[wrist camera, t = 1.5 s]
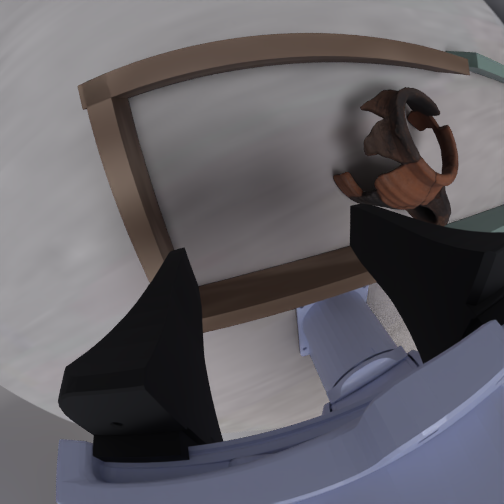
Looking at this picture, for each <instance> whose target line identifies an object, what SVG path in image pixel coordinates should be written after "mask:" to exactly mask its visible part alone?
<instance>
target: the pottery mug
mask: <svg viewBox="0 0 504 504" xmlns="http://www.w3.org/2000/svg"><path fill="white" fill-rule="evenodd" d="M406 103H407V104H408V106H409V107H410V108H411V109H412V111H411V112H410V114H409V116H408V118H407V119H408V121H409V122H410V123H411V124H412V125H413V126H414V127H415V128H416V129H417V130H419V131H423V130H425V129H426V128H432V129H433V131H434V133H435V135H436V138H437V140H438V143H439V145H440V149H441V156H442V174H439V173H437V172H435V171H434V170H433V169H432V168H431V167H430V166H429V165H428V164H427V163H426V162H425V161H424V159H423V158H422V157H421V156H420V154H419V152H418V150H417V148H416V146H415V144H414V142H413V140H412V138H411V135H410V132H409V129H408V126H407V123H406V119H405V112H404V111H405V104H406ZM360 109H361V110H363V111H369V112H372V113H374V114H376V115H378V116H380V117H382V118H384V119H383V120H381V121H378V122H377V123H376V124H375V125H374V126H373V128H372V130H371V132H370V134H369V135H368V136H367V137H366V138H365V140H364V152H365V154H366V155H367V156H372V155H377V154H379V155H381V156H383V157H386V158H390V159H393V160H395V161H397V162H399V163H401V165H400V166H399V167H398V168H396V169H395V170H393V171H390V172H388V173H384V174H381V175H380V176H378V178H377V179H376V180H375V183H374V185H375V188H376V190H373V191H370V192H364V191H363V190H362V189H361V188H360V187H359V186H358V184H357V183H356V182H355V180H354V179H353V177H352V176H351V174H350V173H349V172H345V173H342V174H341V175H334V181H335V182H336V184H337V186H338V187H339V188H340V189H341V191H342V192H343V193H344V194H345V195H346V196H348V197H349V198H350V199H351V200H353V201H355V202H357V203H360V204H361V203H363V204H369V205H374V206H380V207H386V208H391V209H401V210H406V211H407V212H408V213H409V214H410V215H411V216H412V217H413V218H414V219H417V220H421V221H424V222H428V223H432V224H436V225H440V226H445V225H446V224H447V223H448V221H449V217H450V214H451V207H450V203H449V200H448V197H447V194H446V191H445V186H448V185H450V184H451V183H452V182H453V181H454V179H455V178H456V175H457V171H458V153H457V148H456V143H455V140H454V137H453V134H452V131H451V129H450V127H449V125H445V126H442V127H439V125H438V124H437V122H436V120H435V119H434V118H433V116H437V115H440V111H439V109H438V107H437V105H436V104H435V103H434V102H433V101H432V100H431V99H430V98H429V97H428V96H427V95H426V94H424V93H423V92H421V91H419V90H417V89H414V88H409V87H408V88H406V87H405V88H403V89H401V90H399V91H395V90H383V91H381V92H380V93H379V94H378V95H377V96H376V97H374V98H373V99H371V100H370V101H367V102H366V103H365V104H363V105H362V106H361V107H360Z"/></svg>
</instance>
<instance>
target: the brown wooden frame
mask: <svg viewBox="0 0 504 504" xmlns="http://www.w3.org/2000/svg"><path fill="white" fill-rule="evenodd" d="M312 62H355V63H374V64H386V65H395V66H404V67H411V68H418V69H424V70H430V71H435V72H443V73H454V74H463V75H470V73H469V64H468V59H466V58H463V57H460V56H457V55H453V54H450V53H447V52H443V51H440V50H436V49H432V48H428V47H424V46H420V45H416V44H411V43H406V42H401V41H395V40H389V39H383V38H376V37H368V36H358V35H346V34H328V33H290V34H271V35H259V36H250V37H241V38H234V39H227V40H221V41H215V42H210V43H205V44H200V45H195V46H190V47H186V48H182V49H178V50H174V51H170V52H167V53H163V54H160V55H156V56H153V57H150V58H146V59H143V60H140V61H137V62H134V63H132V64H129V65H126V66H123V67H121V68H118V69H115V70H113V71H110V72H108V73H105V74H103V75H101V76H98V77H96V78H94V79H91V80H89V81H87V82H85V83H83V84H81V85H79V86H78V90H79V95H80V99H81V104H82V108H83V110H84V109H87V111H88V115H89V119H90V123H91V126H92V130H93V134H94V137H95V141H96V144H97V147H98V151H99V154H100V157H101V160H102V164H103V167H104V170H105V173H106V176H107V179H108V182H109V185H110V187H111V190H112V193H113V196H114V199H115V201H116V204H117V207H118V209H119V212H120V215H121V217H122V220H123V222H124V225H125V227H126V230H127V232H128V235H129V237H130V239H131V242H132V244H133V246H134V249H135V251H136V253H137V256H138V258H139V260H140V262H141V265H142V267H143V269H144V271H145V273H146V276H147V278H148V280H149V282H150V283H151V281H152V280H153V278H154V277H155V275H156V273H157V272H158V270H159V269H160V267H161V265H162V264H163V262H164V260H165V259H166V257H167V255H168V254H169V252H170V251H173V250H174V248H173V246H172V243H171V240H170V237H169V235H168V232H167V229H166V226H165V223H164V220H163V217H162V214H161V211H160V208H159V206H158V202H157V199H156V196H155V193H154V190H153V187H152V184H151V181H150V177H149V174H148V171H147V168H146V164H145V161H144V157H143V154H142V150H141V147H140V143H139V140H138V136H137V132H136V129H135V125H134V121H133V117H132V113H131V109H130V105H129V101H128V98H130V97H133V96H136V95H139V94H142V93H145V92H148V91H151V90H154V89H157V88H161V87H164V86H168V85H171V84H175V83H178V82H182V81H186V80H190V79H194V78H199V77H203V76H208V75H213V74H218V73H223V72H228V71H234V70H240V69H247V68H254V67H262V66H270V65H281V64H293V63H312ZM375 282H376V280H375V279H374V278H373V277H372V276H371V274H370V273H369V272H368V271H367V270H366V268H365V267H364V266H363V265H362V264H361V262H360V261H359V259H358V258H357V256H356V255H355V253H354V251H353V250H352V248H351V246H348V247H345V248H341V249H338V250H334V251H331V252H327V253H323V254H320V255H316V256H313V257H309V258H305V259H302V260H298V261H294V262H291V263H287V264H283V265H280V266H276V267H272V268H268V269H265V270H261V271H257V272H253V273H249V274H246V275H242V276H238V277H234V278H230V279H226V280H222V281H218V282H215V283H211V284H207V285H203V286H199V292H200V298H201V305H202V323H203V333H205V332H209V331H213V330H217V329H221V328H226V327H230V326H234V325H238V324H241V323H245V322H249V321H253V320H257V319H260V318H264V317H268V316H271V315H275V314H278V313H282V312H285V311H289V310H292V309H296V308H299V307H302V306H306V305H309V304H312V303H315V302H319V301H322V300H325V299H328V298H331V297H334V296H337V295H340V294H344V293H347V292H350V291H352V290H355V289H358V288H361V287H364V286H367V285H370V284H373V283H375Z"/></svg>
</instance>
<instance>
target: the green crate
mask: <svg viewBox="0 0 504 504" xmlns="http://www.w3.org/2000/svg"><path fill="white" fill-rule="evenodd" d="M446 52H447V53H450V54H453V55H457V56H460V57H463V58H466V59H468V64H469V71H471V72H474V73H477V74H480V75H483V76H486V77H489V78H492V79H494V80H497V81H500V82H502V83H504V65H502V64H500V63H498V62H496V61H494V60H492V59H489V58H487V57H485V56H483V55H480V54H478V53H473V52H453V51H446ZM444 227H450V228H455V229H462V230H469V231H479V232H504V205H502V206H499V207H496V208H493V209H491V210H488V211H485V212H482V213H479V214H476V215H474V216H471V217H468V218H465V219H462V220H459V221H456V222H453V223H450V224H447V225H445V226H444Z"/></svg>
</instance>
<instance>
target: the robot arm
mask: <svg viewBox="0 0 504 504" xmlns="http://www.w3.org/2000/svg"><path fill="white" fill-rule="evenodd" d="M350 246H351V248H352V250H353V251H354V253H355V255H356V256H357V258H358V259H359V261H360V262H361V264H362V265H363V266H364V267H365V268H366V270H367V271H368V272H369V273H370V274H371V276H372V277H373V278H374V279H375V280H376V282H377V283H378V284H379V285H380V286H381V288H382V289H383V290H384V291H385V293H386V294H387V295H388V296H389V298H390V299H391V301H392V302H393V304H394V305H395V307H396V309H397V310H398V312H399V314H400V315H401V317H402V319H403V321H404V323H405V324H406V326H407V328H408V330H409V332H410V334H411V336H412V338H413V341H414V343H415V345H416V347H417V350H418V351H415V350H411V351H410V352H408V353H406V352H405V350H404V349H403V348H402V346H399V347H397V345H396V344H395V343H394V341H393V340H392V338H391V337H390V335H389V334H388V333H387V331H386V330H385V328H384V327H383V325H382V324H381V323H380V321H379V320H378V319H377V317H376V316H375V314H374V313H373V312H372V310H371V309H370V308H369V306H368V305H367V303H366V301H367V294H368V285H367V286H364V287H361V288H358V289H355V290H352V291H350V292H347V293H344V294H340V295H337V296H334V297H331V298H328V299H325V300H322V301H319V302H315V303H312V304H309V305H306V306H302V307H299V308H296V313H297V324H298V335H299V347H300V354H301V356H306V355H309V354H310V356H311V359H312V361H313V363H314V365H315V368H316V370H317V372H318V375H319V377H320V379H321V381H322V384H323V386H324V388H325V390H326V394H327V396H328V398H329V401H330V402H329V403H327V404H325V405H324V407H323V412H322V415H321V416H318V417H316V418H313V419H310V420H307V421H303V422H300V423H297V424H294V425H291V426H287V427H284V428H280V429H276V430H273V431H269V432H265V433H261V434H257V435H253V436H248V437H244V438H239V439H234V440H229V441H223V439H222V435H221V432H220V428H219V424H218V420H217V416H216V412H215V408H214V404H213V400H212V395H211V391H210V386H209V381H208V376H207V370H206V365H205V358H204V345H203V323H202V305H201V298H200V292H199V286H198V284H197V281H196V278H195V276H194V273H193V270H192V267H191V265H190V262H189V259H188V256H187V254H186V251H185V248H180V249H177V250H173V251H170V252H169V254H168V255H167V257H166V259H165V260H164V262H163V264H162V265H161V267H160V269H159V270H158V272H157V273H156V275H155V277H154V278H153V280H152V281H151V283H150V284H149V286H148V287H147V289H146V290H145V291H144V293H143V294H142V296H141V297H140V299H139V300H138V301H137V303H136V304H135V305H134V306H133V307H132V309H131V310H130V311H129V312H128V313H127V315H126V316H125V317H124V318H123V319H122V320H121V321H120V322H119V323H118V324H117V325H116V326H115V327H114V328H113V329H112V330H111V331H110V332H109V333H108V334H107V335H106V336H105V337H104V338H103V339H102V340H101V341H99V342H98V343H97V344H96V345H95V346H94V347H92V348H91V349H90V350H89V351H87V352H86V353H85V354H83V355H82V356H81V357H79V358H78V359H76V360H75V361H74V362H72V363H71V364H69V365H68V366H66V368H65V371H64V375H63V380H62V384H61V389H60V393H59V398H58V403H59V407H60V408H61V410H62V411H63V412H64V414H65V415H66V416H67V417H69V418H70V419H71V420H72V421H74V422H75V423H77V424H78V425H79V426H81V427H82V428H84V429H85V430H87V431H88V432H90V433H91V434H93V435H94V440H93V443H90V442H87V441H79V440H66V439H61V440H59V448H58V459H57V477H56V478H57V479H56V502H57V503H58V504H504V232H479V231H469V230H462V229H455V228H450V227H444V226H440V225H436V224H432V223H428V222H424V221H421V220H417V219H414V218H411V217H408V216H405V215H401V214H398V213H395V212H392V211H389V210H386V209H383V208H380V207H376V206H373V205H369V204H363V203H361V204H357V205H352V206H350Z"/></svg>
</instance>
